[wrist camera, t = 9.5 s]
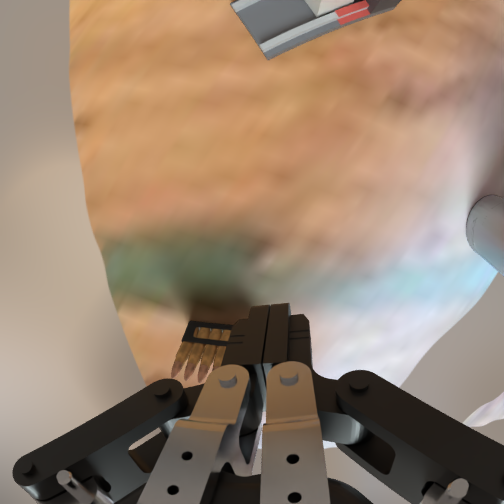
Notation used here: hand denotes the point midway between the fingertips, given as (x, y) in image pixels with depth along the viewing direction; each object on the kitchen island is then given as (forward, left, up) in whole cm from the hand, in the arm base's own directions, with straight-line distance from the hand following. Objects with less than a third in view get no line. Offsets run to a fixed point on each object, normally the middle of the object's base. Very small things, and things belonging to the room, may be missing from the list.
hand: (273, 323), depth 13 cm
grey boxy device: (-8, -24, -29) cm, 38 cm away
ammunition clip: (+12, +20, -29) cm, 37 cm away
